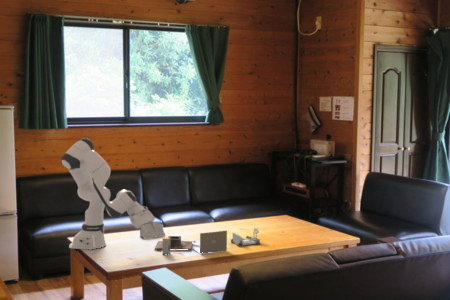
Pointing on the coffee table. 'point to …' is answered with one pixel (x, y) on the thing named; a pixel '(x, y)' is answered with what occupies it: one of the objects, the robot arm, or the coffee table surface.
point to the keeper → (175, 243)
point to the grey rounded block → (152, 231)
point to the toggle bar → (166, 245)
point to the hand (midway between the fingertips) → (151, 229)
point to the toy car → (249, 240)
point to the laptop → (213, 242)
